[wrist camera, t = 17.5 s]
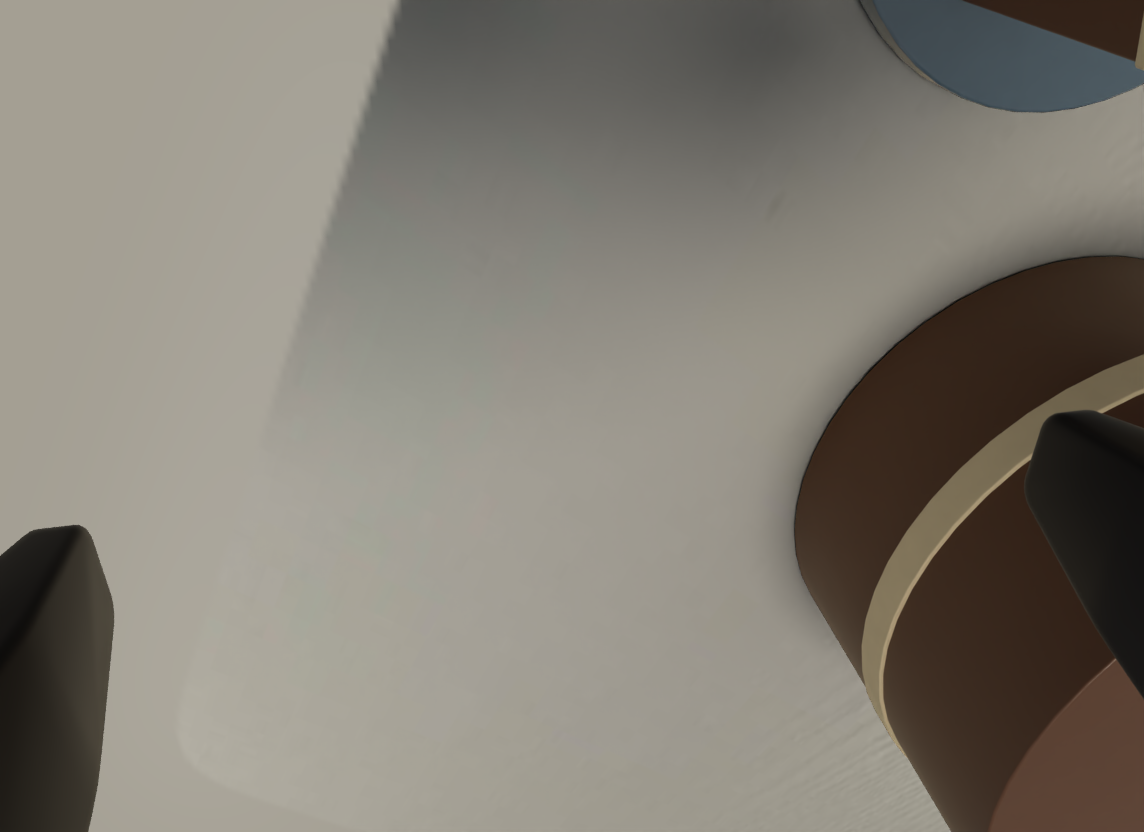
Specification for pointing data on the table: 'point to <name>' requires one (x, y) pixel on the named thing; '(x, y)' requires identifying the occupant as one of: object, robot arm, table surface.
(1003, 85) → the plate
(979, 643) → the cake
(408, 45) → the table surface
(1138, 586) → the robot arm
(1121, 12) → the cake slice
